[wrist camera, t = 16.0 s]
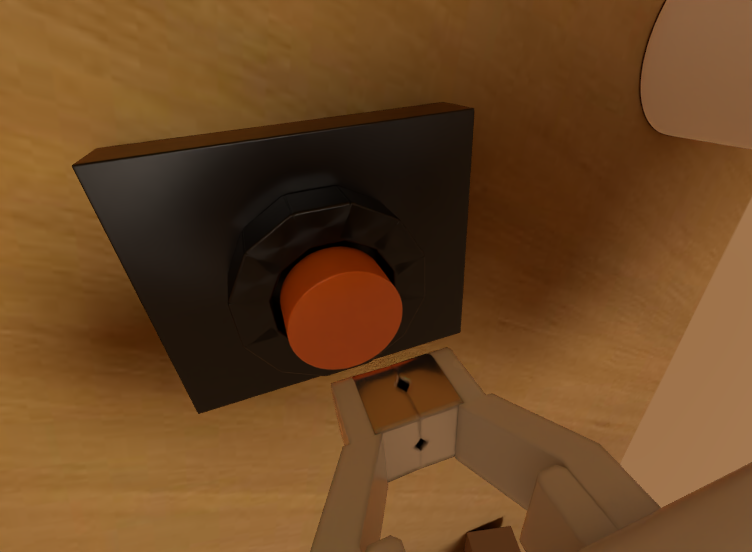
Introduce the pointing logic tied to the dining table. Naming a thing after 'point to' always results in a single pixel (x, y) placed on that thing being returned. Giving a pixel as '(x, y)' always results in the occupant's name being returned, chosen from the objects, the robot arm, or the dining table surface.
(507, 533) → the photo frame
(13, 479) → the dining table surface
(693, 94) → the cup
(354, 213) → the button base
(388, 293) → the timer button
